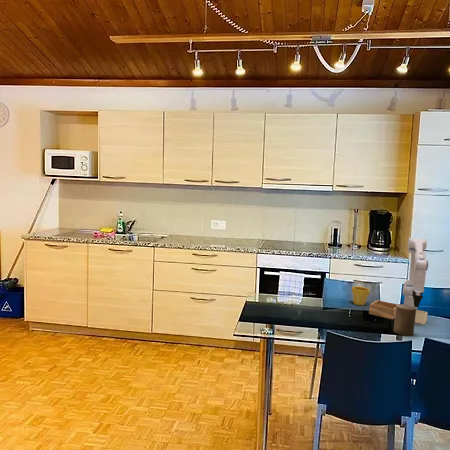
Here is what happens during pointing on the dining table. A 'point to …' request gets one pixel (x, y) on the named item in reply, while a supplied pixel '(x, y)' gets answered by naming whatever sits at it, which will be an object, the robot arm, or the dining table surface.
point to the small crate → (421, 317)
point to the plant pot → (360, 295)
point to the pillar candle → (404, 319)
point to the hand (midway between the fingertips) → (416, 305)
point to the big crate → (383, 309)
